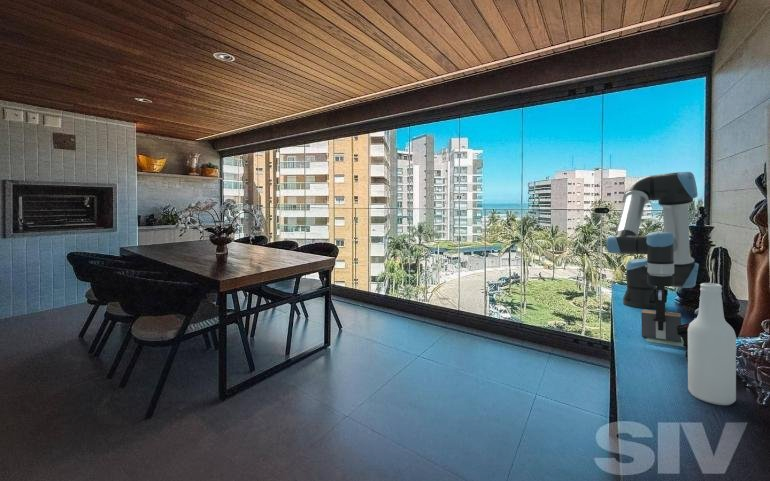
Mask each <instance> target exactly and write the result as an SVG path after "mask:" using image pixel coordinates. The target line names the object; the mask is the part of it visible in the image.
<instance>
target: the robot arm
mask: <svg viewBox="0 0 770 481" xmlns="http://www.w3.org/2000/svg"><path fill="white" fill-rule="evenodd" d="M698 194H699V193H698V187H697V182H696V177H695V176H694V174H693V172H690V171H677V172H669V173H663V174H655V175H646V176H643V177H641V178H638V179H637V180H635V181H634V182H633V183H632V184H630V185H629V186H628V187H627V189H625V191H624V193H623V196H622V202H623V205H622V210H621V214H620V216H619V220H618V223H617V228H616V231H615V234H614V235H608V236H607V238H606V244H605V245H606V250H607V252H608V253H609V254H618V255H621V254H622V255H646V257H645V258H636V259H631V260H628V261H627V262H626V268H625V271H626V290H625V292H624V294H623V298H622V304H624V305H626V306H629V307H633V308H640V309H655V311H656V318H655V319H653V321H656V338H659V339H666V321H665V312H667V311H666V303H667V301H668V292H669V291H668V289H667V288H668V287H670V288H671V287H672V288H681V289H684V288H685V289H687V288H688V289H690V288H691V289H692V288H695V286H696V282H697V277H698V274H699V272H698V271H699V266H700V264H699V263H697V262H695V258H694V257H692V256H691V255H690V249H691V248H690V223H689V222H690V217H689V214H690V213H689V207H690V205H691V204H692V203H693V202H694V199H695V198H696V199H697V197H698ZM652 201H658V206H660V207H662V214H663V215H662V216H663V231H655V232H653V231H652V232H649V233H647V235H638V234H639V230H640V227H641V226H640V225H641V222H642V217H643V213H644V208H645V206H646V205H647V204H648V202H652ZM666 287H667V288H666Z"/></svg>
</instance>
